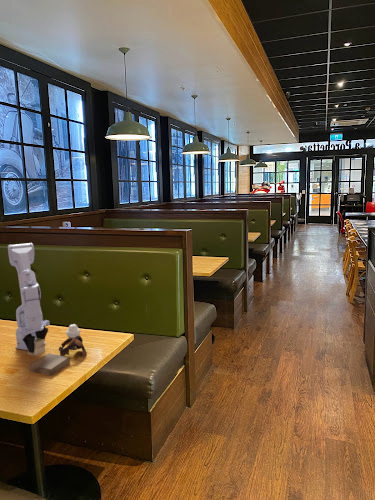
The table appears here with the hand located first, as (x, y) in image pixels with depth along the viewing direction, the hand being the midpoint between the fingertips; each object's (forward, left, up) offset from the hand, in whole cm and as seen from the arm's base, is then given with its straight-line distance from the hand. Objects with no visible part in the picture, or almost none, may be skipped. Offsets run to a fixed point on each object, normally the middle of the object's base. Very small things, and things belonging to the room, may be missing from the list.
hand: (36, 349), depth 146 cm
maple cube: (0, 0, -2) cm, 2 cm away
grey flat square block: (+9, -3, -5) cm, 11 cm away
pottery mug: (+11, +9, -5) cm, 15 cm away
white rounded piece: (+1, +21, -5) cm, 22 cm away
